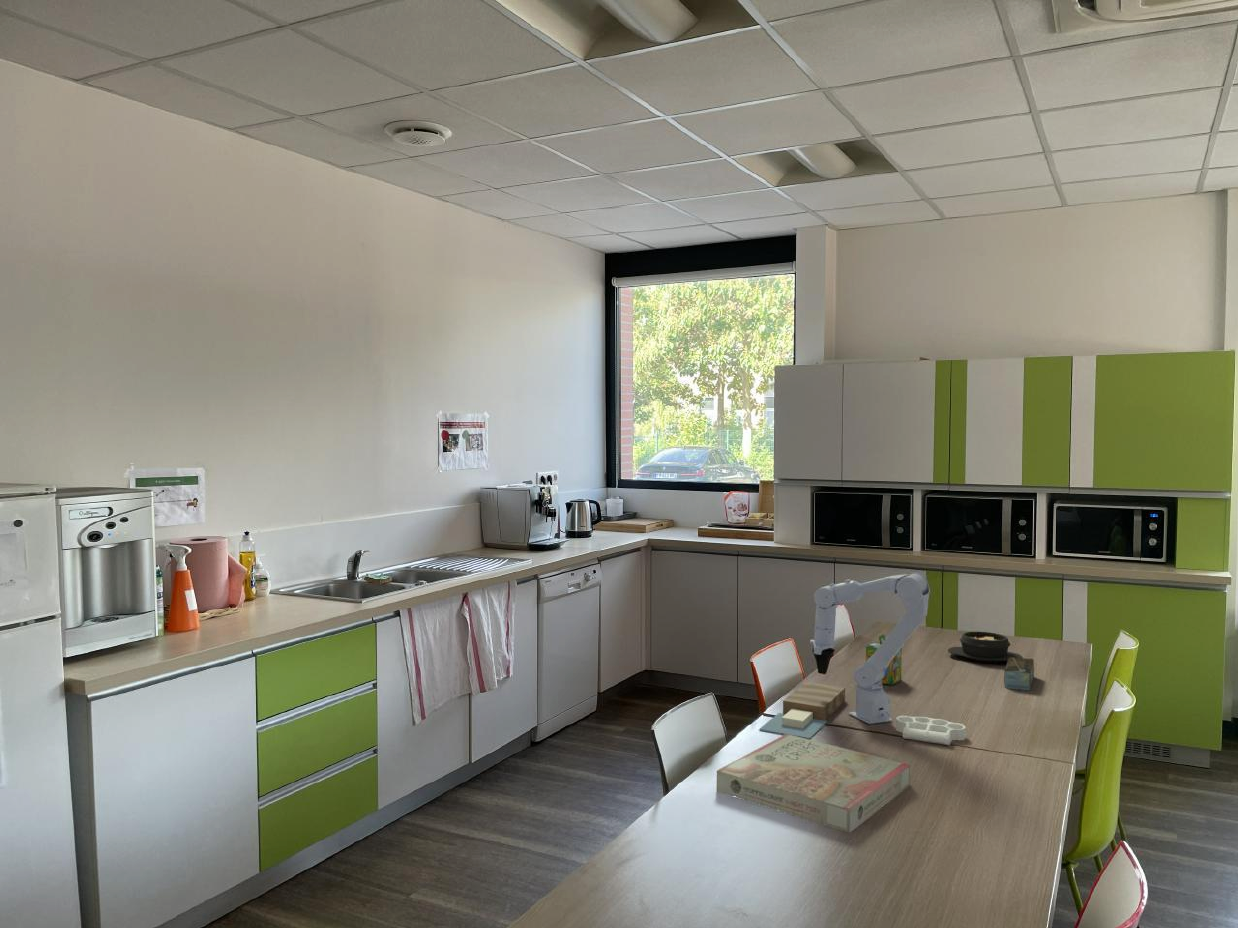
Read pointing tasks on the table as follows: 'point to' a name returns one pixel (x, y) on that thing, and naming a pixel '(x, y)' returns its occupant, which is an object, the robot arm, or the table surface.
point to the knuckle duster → (930, 729)
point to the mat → (805, 732)
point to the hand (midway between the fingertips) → (822, 673)
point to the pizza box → (815, 781)
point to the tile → (797, 718)
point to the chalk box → (894, 666)
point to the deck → (815, 699)
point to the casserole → (984, 647)
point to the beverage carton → (1019, 673)
